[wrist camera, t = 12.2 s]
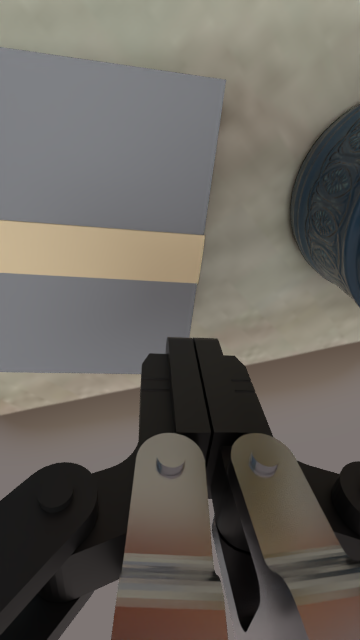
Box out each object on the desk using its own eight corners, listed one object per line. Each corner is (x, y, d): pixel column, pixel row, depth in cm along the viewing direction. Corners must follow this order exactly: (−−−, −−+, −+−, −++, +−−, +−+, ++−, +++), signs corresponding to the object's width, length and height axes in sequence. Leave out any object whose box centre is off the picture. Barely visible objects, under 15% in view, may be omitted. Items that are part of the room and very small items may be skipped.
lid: (222, 81, 14) (227, 79, 14) (183, 366, 22) (184, 375, 21) (-102, 35, 13) (-119, 29, 12) (-22, 363, 20) (-28, 372, 19)
